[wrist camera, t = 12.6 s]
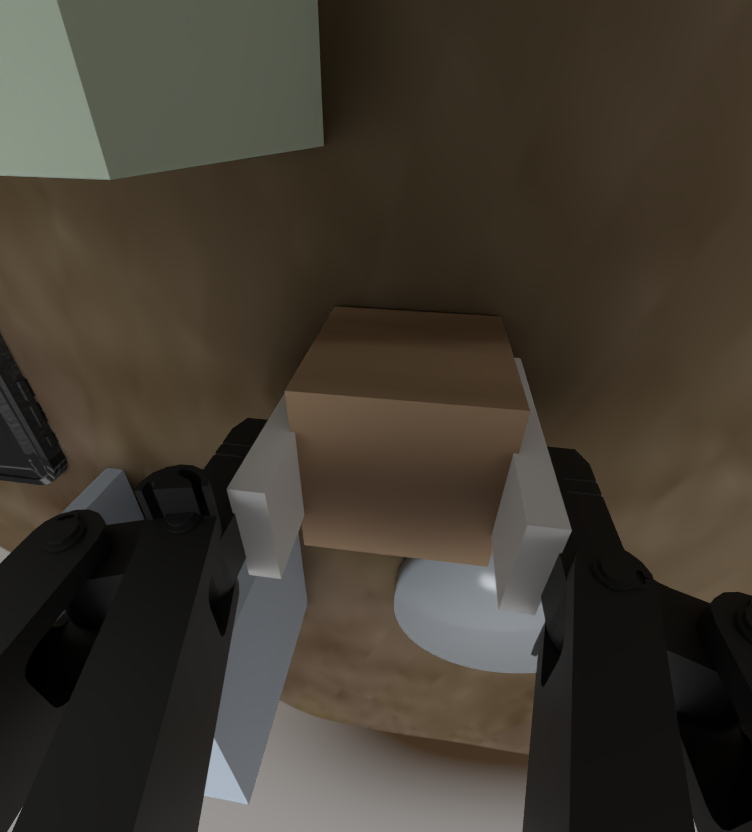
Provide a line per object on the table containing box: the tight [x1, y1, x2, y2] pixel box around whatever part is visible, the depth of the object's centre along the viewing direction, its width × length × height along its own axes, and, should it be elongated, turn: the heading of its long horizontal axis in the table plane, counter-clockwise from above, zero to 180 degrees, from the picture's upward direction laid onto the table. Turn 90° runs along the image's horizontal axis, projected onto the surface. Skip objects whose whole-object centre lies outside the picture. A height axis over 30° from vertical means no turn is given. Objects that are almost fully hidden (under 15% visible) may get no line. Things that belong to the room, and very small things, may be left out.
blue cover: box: [55, 468, 308, 804], centre depth 17 cm, size 9×9×8 cm
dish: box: [394, 550, 545, 673], centre depth 19 cm, size 10×10×1 cm
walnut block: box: [284, 306, 530, 567], centre depth 12 cm, size 5×5×5 cm
